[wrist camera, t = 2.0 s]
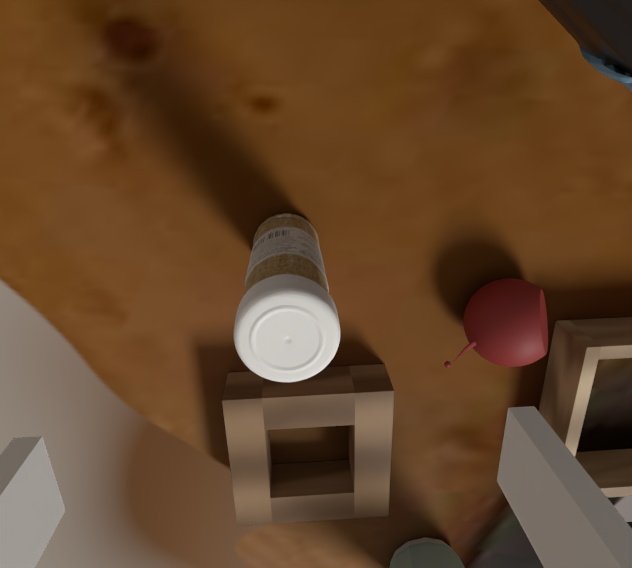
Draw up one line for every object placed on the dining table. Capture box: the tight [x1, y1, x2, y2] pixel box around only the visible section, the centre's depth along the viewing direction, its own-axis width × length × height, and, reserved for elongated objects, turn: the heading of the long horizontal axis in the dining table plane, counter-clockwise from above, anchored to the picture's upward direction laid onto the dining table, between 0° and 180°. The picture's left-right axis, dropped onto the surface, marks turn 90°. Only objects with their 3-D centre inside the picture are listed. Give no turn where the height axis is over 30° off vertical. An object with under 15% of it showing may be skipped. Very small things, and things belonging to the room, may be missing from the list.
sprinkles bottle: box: [234, 213, 340, 382], centre depth 26 cm, size 5×5×14 cm
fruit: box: [444, 278, 548, 367], centre depth 32 cm, size 6×6×8 cm
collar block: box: [222, 364, 394, 526], centre depth 36 cm, size 12×12×4 cm
